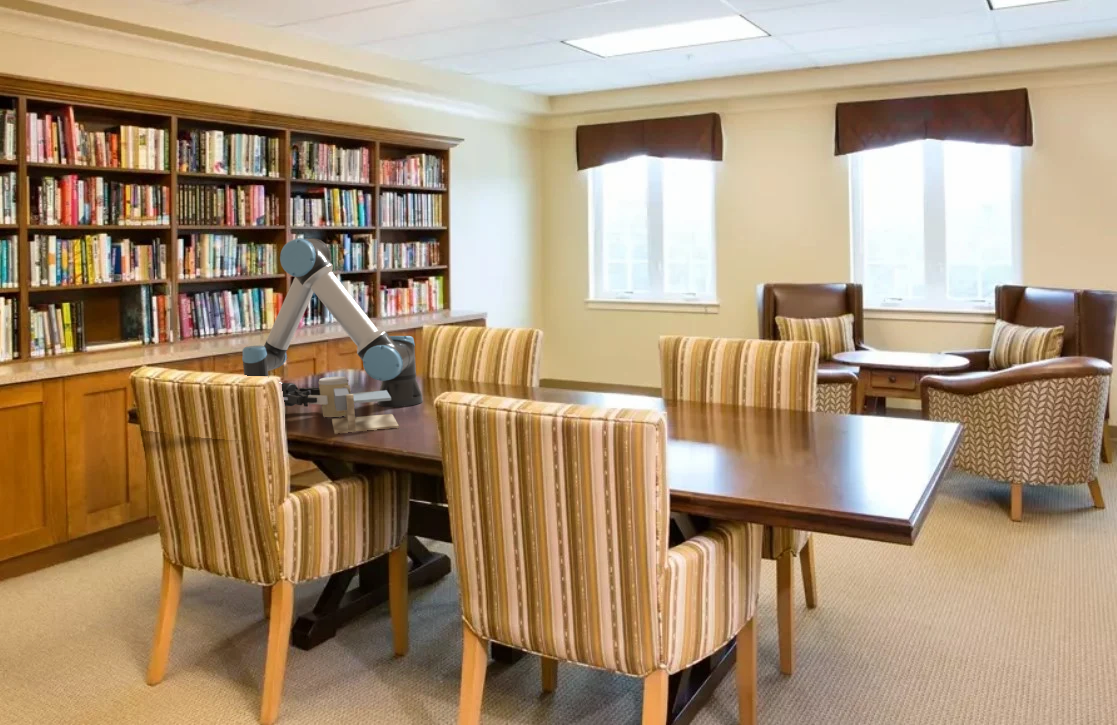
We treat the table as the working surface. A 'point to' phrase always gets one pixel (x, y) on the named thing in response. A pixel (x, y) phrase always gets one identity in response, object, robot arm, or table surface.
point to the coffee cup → (331, 394)
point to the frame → (361, 419)
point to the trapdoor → (358, 397)
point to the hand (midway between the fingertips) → (338, 396)
